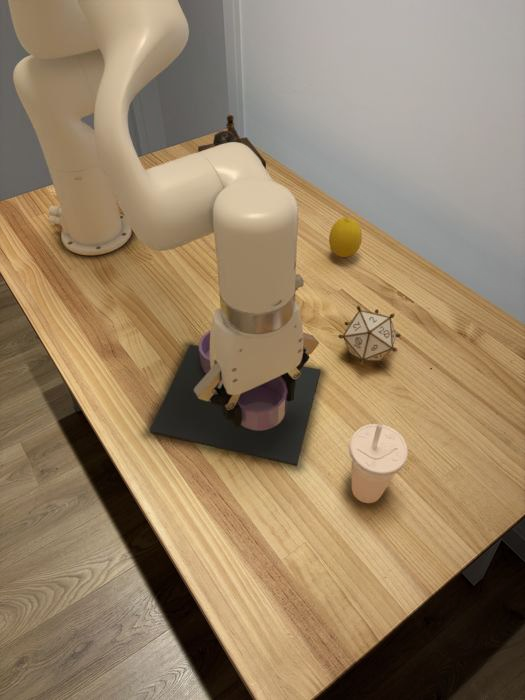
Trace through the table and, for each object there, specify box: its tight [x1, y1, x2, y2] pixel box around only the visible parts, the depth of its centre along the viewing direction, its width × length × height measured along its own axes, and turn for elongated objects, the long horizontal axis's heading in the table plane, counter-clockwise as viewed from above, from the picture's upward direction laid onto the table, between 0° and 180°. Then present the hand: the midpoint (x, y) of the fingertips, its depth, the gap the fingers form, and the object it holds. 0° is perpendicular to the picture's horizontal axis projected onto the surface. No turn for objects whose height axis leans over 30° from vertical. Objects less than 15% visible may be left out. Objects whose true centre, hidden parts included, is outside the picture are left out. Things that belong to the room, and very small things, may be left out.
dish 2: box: [237, 376, 288, 431], centre depth 68 cm, size 7×7×4 cm
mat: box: [149, 343, 321, 467], centre depth 77 cm, size 20×16×1 cm
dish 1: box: [198, 329, 211, 374], centre depth 80 cm, size 7×7×4 cm
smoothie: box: [348, 422, 409, 504], centre depth 63 cm, size 6×6×14 cm
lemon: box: [328, 217, 363, 258], centre depth 95 cm, size 6×6×8 cm
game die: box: [337, 304, 402, 367], centre depth 79 cm, size 9×8×10 cm
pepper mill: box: [197, 114, 267, 170], centre depth 102 cm, size 16×11×18 cm
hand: (259, 404), depth 69 cm, fingers closed on dish 2, 6 cm apart
